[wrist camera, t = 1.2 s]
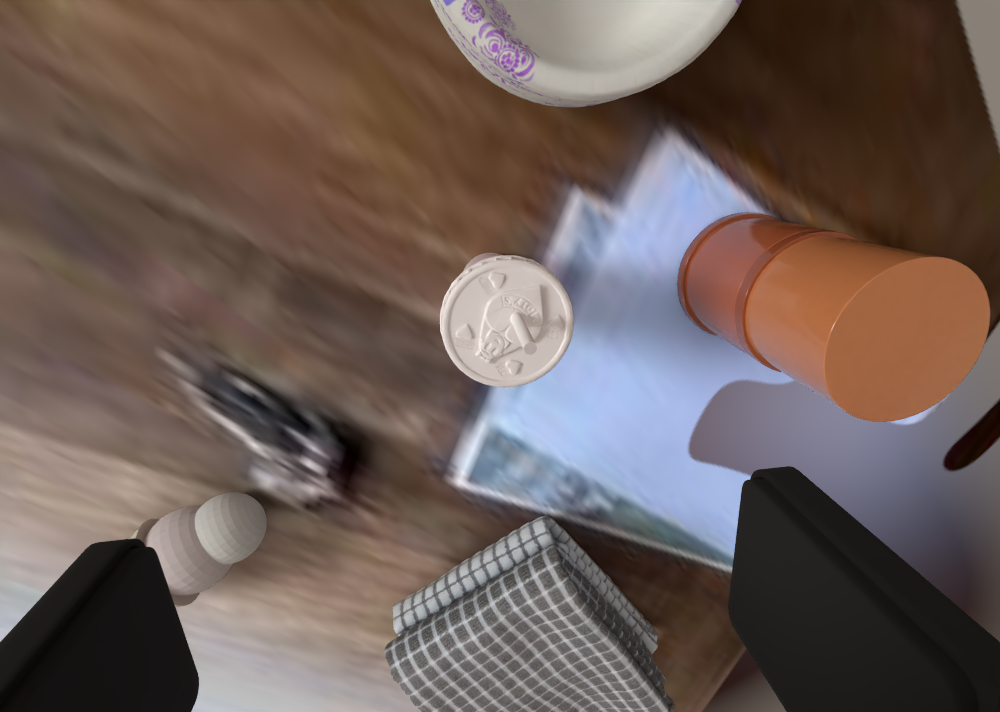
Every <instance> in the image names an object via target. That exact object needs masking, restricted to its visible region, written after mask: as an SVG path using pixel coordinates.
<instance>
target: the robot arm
mask: <svg viewBox="0 0 1000 712" xmlns="http://www.w3.org/2000/svg"><path fill="white" fill-rule="evenodd" d="M728 610H729V616H730V619H731V622H732V625H733V627H734V629H735V631H736V632H737V634H738V635H739V637H740V639H741V640H742V642H743V643H744V645H745V647H746V648H747V650H748V651H749V653H750V654H751V656H752V657H753V659H754V661H755V662H756V664H757V665H758V667H759V669H760V670H761V672H762V673H763V675H764V676H765V678H766V679H767V681H768V683H769V684H770V686H771V687H772V689H773V691H774V692H775V693H776V695H777V697H778V699H779V700H780V702H781V703H782V705H783V706H784V708H785V710H786V711H787V712H1000V642H999V641H998V640H997V639H995V638H994V637H993V636H992V635H991V634H989V633H988V632H987V631H986V630H985V629H984V628H982V627H981V626H980V625H979V624H978V623H977V622H975V621H974V620H973V619H972V618H971V617H970V616H968V615H967V614H966V613H965V612H964V611H962V610H961V609H960V608H959V607H958V606H957V605H956V604H954V603H953V602H952V601H951V600H950V599H948V598H947V597H946V596H945V595H944V594H943V593H941V592H940V591H939V590H938V589H937V588H936V587H934V586H933V585H932V584H931V583H930V582H929V581H927V580H926V579H925V578H924V577H922V576H921V575H920V574H919V573H918V572H917V571H916V570H915V569H913V568H912V567H911V566H910V565H908V564H907V563H906V562H905V561H904V560H903V559H902V558H900V557H899V556H898V555H897V554H896V553H895V552H893V551H892V550H891V549H890V548H889V547H888V546H886V545H885V544H884V543H883V542H882V541H880V540H879V539H878V538H877V537H876V536H875V535H873V534H872V533H871V532H870V531H869V530H868V529H866V528H865V527H864V526H863V525H862V524H861V523H859V522H858V521H857V520H856V519H855V518H854V517H852V516H851V515H850V514H849V513H848V512H847V511H845V510H844V509H843V508H842V507H841V506H839V505H838V504H837V503H836V502H835V501H834V500H832V499H831V498H830V497H829V496H828V495H826V494H825V493H824V492H823V491H822V490H821V489H820V488H818V487H817V486H816V485H815V484H814V483H813V482H811V481H810V480H809V479H808V478H807V477H806V476H804V475H803V474H802V473H801V472H800V471H798V470H797V469H795V468H794V467H789V466H788V467H779V468H769V469H760V470H756V471H755V472H754V473H753V474H752V475H751V479H750V480H747V481H745V482H744V484H743V487H742V493H741V501H740V510H739V518H738V527H737V535H736V544H735V552H734V561H733V569H732V578H731V586H730V595H729V603H728ZM198 689H199V677H198V673H197V670H196V667H195V664H194V661H193V658H192V655H191V652H190V649H189V646H188V643H187V640H186V637H185V634H184V631H183V628H182V625H181V622H180V620H179V617H178V614H177V611H176V608H175V605H174V602H173V599H172V596H171V593H170V590H169V587H168V584H167V581H166V578H165V575H164V572H163V569H162V566H161V563H160V560H159V557H158V555H157V553H156V551H155V549H153V548H152V547H146V546H145V544H144V543H143V542H142V541H141V540H140V539H135V538H134V539H125V540H116V541H106V542H98V543H95V544H92V545H90V546H89V547H88V548H87V549H85V551H84V552H83V553H82V554H81V555H80V556H79V557H78V558H77V559H76V560H75V561H74V563H73V564H72V565H71V566H70V567H69V568H68V569H67V570H66V571H65V572H64V573H63V575H62V576H61V577H60V578H59V579H58V580H57V581H56V582H55V583H54V584H53V585H52V587H51V588H50V589H49V590H48V591H47V592H46V593H45V594H44V595H43V596H42V597H41V599H40V600H39V601H38V602H37V603H36V604H35V605H34V606H33V607H32V608H31V609H30V611H29V612H28V613H27V614H26V615H25V616H24V617H23V618H22V619H21V620H20V621H19V622H18V624H17V625H16V626H15V627H14V628H13V629H12V630H11V631H10V632H9V633H8V634H7V636H6V637H5V638H4V639H3V640H2V641H1V642H0V712H191V711H192V708H193V706H194V704H195V701H196V699H197V694H198Z"/></svg>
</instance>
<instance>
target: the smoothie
mask: <svg viewBox="0 0 1000 712" xmlns="http://www.w3.org/2000/svg"><path fill="white" fill-rule="evenodd" d="M573 325H574V316H573V309H572V305H571V302H570V299H569V296H568V294H567V292H566V291H565V289H564V287H563V286H562V284H561V282H560V281H559V280H558V278H557V277H556V276H555V275H554V274H553V273H552V272H551V271H550V270H549V269H548V268H546V267H544V266H543V265H541V264H539V263H538V262H536V261H534V260H532V259H528V258H524V257H520V256H516V255H505V256H504V255H501V254H498V253H483V254H480V255H478V256H476V257H474V258H473V259H472V260H471V261H470V262H469V263H468V264H467V265H466V267H465V269H464V271H463V272H462V273H461V274H460V275H459V276H458V277H457V278H456V279H455V280H454V281H453V282H452V284H451V286H450V288H449V290H448V291H447V293H446V295H445V297H444V300H443V304H442V308H441V312H440V332H441V335H442V338H443V342H444V345H445V348H446V350H447V352H448V354H449V356H450V358H451V359H452V361H453V362H454V364H455V365H456V366H457V367H458V368H459V369H460V370H461V371H462V372H463V373H465V374H466V375H467V376H469V377H470V378H472V379H474V380H476V381H478V382H480V383H483V384H486V385H490V386H495V387H515V386H520V385H524V384H527V383H530V382H533V381H535V380H537V379H539V378H540V377H542V376H544V375H545V374H546V373H548V372H549V371H550V370H551V369H552V368H554V367H555V366H556V364H557V363H558V362H559V361H560V360H561V358H562V357H563V355H564V354H565V352H566V350H567V348H568V346H569V343H570V341H571V337H572V333H573Z"/></svg>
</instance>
